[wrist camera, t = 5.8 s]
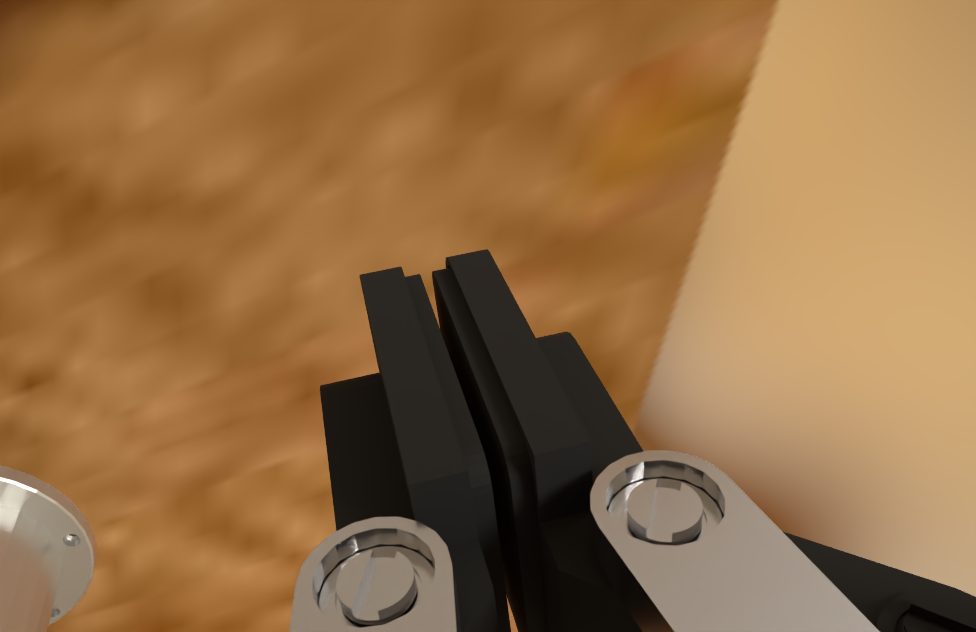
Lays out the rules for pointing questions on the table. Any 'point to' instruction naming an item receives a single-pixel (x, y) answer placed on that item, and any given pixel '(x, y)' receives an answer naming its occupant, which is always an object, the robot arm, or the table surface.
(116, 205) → the table surface
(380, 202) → the table surface
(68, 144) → the table surface
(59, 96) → the table surface
